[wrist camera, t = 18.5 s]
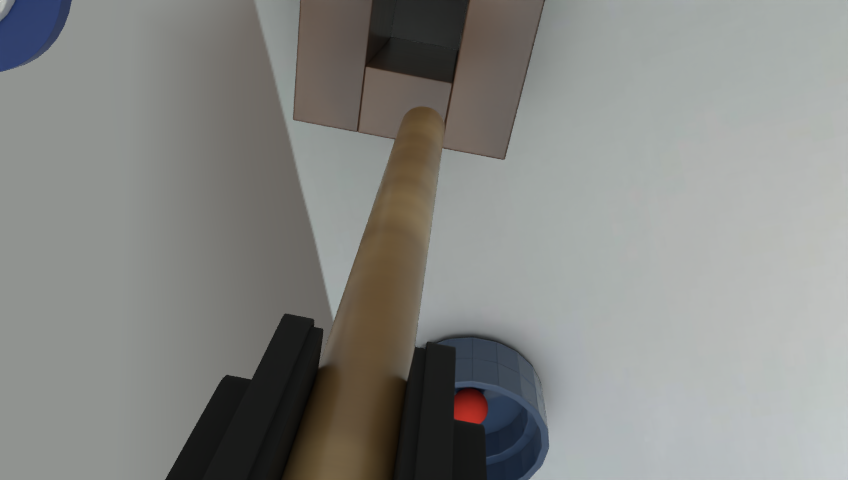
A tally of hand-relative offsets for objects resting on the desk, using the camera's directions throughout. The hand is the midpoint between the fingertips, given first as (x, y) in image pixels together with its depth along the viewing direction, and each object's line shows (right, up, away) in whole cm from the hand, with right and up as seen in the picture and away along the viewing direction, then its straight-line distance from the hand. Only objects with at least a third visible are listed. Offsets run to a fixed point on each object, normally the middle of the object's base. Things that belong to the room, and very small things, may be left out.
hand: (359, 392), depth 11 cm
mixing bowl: (+5, -11, +40) cm, 42 cm away
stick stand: (+2, +18, +25) cm, 31 cm away
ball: (+5, -12, +38) cm, 40 cm away
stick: (+1, +7, +12) cm, 14 cm away
